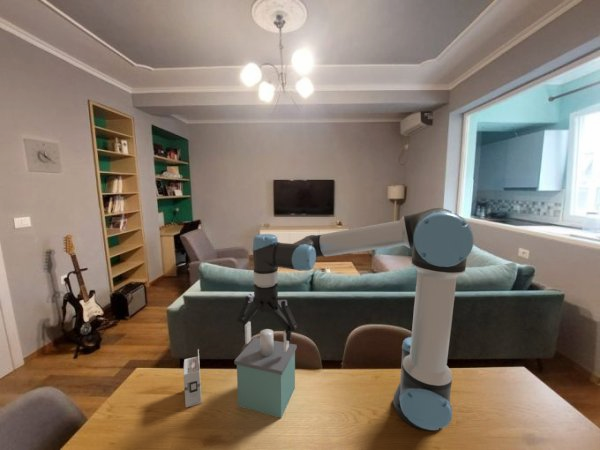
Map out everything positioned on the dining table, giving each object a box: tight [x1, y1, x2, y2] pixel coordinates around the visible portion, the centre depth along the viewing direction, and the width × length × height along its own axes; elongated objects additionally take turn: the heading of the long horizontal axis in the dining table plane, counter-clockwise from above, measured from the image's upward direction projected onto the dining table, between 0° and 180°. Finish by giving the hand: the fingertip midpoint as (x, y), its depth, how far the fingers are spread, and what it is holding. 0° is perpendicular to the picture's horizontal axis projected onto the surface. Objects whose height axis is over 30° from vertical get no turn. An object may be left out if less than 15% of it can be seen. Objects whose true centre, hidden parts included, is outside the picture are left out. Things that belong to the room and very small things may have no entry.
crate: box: [236, 351, 296, 419], centre depth 89 cm, size 15×13×15 cm
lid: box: [233, 328, 298, 375], centre depth 88 cm, size 16×14×10 cm
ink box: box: [183, 348, 202, 408], centre depth 89 cm, size 9×5×15 cm, turn 22°
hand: (266, 345), depth 88 cm, fingers open, 13 cm apart
